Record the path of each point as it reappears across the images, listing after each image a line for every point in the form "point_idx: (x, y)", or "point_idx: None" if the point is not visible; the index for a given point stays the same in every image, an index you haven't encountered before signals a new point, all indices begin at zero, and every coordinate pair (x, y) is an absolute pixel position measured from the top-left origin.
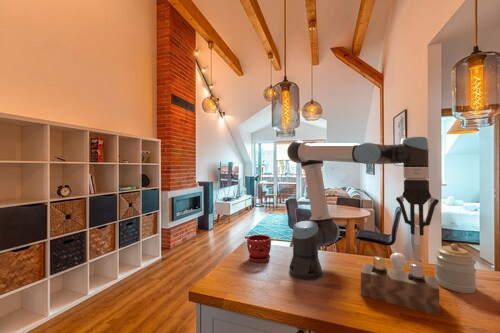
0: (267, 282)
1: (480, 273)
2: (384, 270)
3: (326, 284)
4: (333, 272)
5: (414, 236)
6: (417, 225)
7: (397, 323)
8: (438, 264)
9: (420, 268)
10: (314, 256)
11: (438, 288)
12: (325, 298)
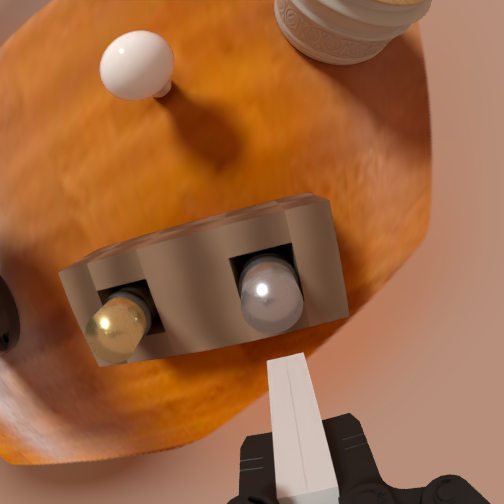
0: (3, 400)
1: None
2: (150, 325)
3: (47, 333)
4: (11, 243)
5: (271, 400)
6: (318, 499)
7: (249, 386)
8: (302, 8)
9: (293, 322)
10: None
11: (346, 311)
12: (93, 394)
